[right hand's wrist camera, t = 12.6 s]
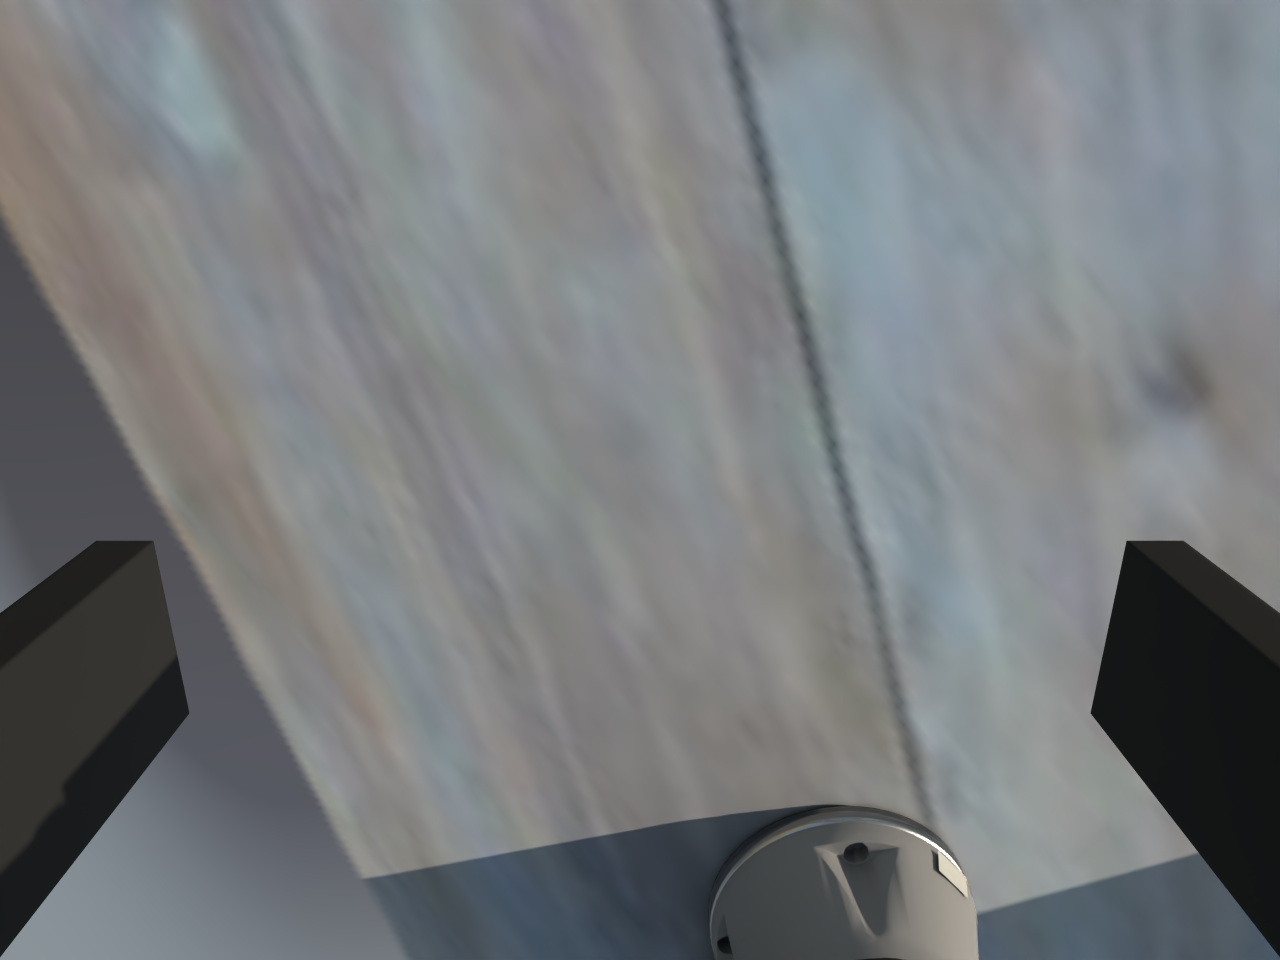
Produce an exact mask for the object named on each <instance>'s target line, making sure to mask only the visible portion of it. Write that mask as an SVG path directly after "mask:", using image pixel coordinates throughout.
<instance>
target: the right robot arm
mask: <svg viewBox="0 0 1280 960" xmlns="http://www.w3.org/2000/svg"><path fill="white" fill-rule="evenodd" d="M188 714H189V709H188V705H187V700H186V695H185V690H184V685H183V681H182V676H181V671H180V666H179V661H178V657H177V652H176V647H175V642H174V638H173V633H172V628H171V623H170V619H169V614H168V609H167V604H166V600H165V595H164V590H163V585H162V580H161V576H160V571H159V566H158V561H157V556H156V551H155V547H154V542H153V541H96V542H94V543H93V544H92V545H90V546H89V547H88V548H86V549H85V550H84V551H82V552H81V553H80V554H78V555H77V556H76V557H74V558H73V559H72V560H70V561H69V562H68V563H66V564H65V565H64V566H62V567H61V568H60V569H58V570H57V571H56V572H54V573H53V574H52V575H51V576H49V577H48V578H46V579H45V580H44V581H43V582H41V583H40V584H38V585H37V586H36V587H34V588H33V589H32V590H31V591H29V592H28V593H26V594H25V595H24V596H22V597H21V598H20V599H19V600H17V601H16V602H15V603H13V604H12V605H11V606H9V607H8V608H7V609H5V610H4V611H3V612H1V613H0V957H1V955H2V954H3V953H4V951H5V950H6V949H7V948H8V946H9V945H10V944H11V942H12V941H13V940H14V939H15V937H16V936H17V935H18V933H19V932H20V931H21V930H22V928H23V927H24V926H25V924H26V923H27V922H28V921H29V919H30V918H31V917H32V915H33V914H34V913H35V912H36V910H37V909H38V908H39V906H40V905H41V904H42V902H43V901H44V900H45V899H46V897H47V896H48V895H49V893H50V892H51V891H52V890H53V888H54V887H55V886H56V884H57V883H58V882H59V881H60V879H61V878H62V877H63V875H64V874H65V873H66V872H67V870H68V869H69V868H70V866H71V865H72V864H73V863H74V861H75V860H76V859H77V857H78V856H79V855H80V853H81V852H82V851H83V850H84V848H85V847H86V846H87V845H88V843H89V842H90V841H91V839H92V838H93V837H94V835H95V834H96V833H97V832H98V830H99V829H100V828H101V826H102V825H103V824H104V823H105V821H106V820H107V819H108V817H109V816H110V815H111V814H112V812H113V811H114V810H115V808H116V807H117V806H118V805H119V803H120V802H121V801H122V799H123V798H124V797H125V796H126V794H127V793H128V792H129V790H130V789H131V788H132V787H133V785H134V784H135V783H136V781H137V780H138V779H139V777H140V776H141V775H142V774H143V772H144V771H145V770H146V768H147V767H148V766H149V765H150V763H151V762H152V761H153V759H154V758H155V757H156V756H157V754H158V753H159V752H160V750H161V749H162V748H163V747H164V745H165V744H166V743H167V741H168V740H169V739H170V738H171V736H172V735H173V734H174V732H175V731H176V730H177V728H178V727H179V726H180V725H181V723H182V722H183V721H184V719H185V718H186V717H187V716H188ZM1091 714H1092V716H1093V717H1094V718H1095V719H1096V721H1097V722H1098V723H1099V725H1100V726H1101V727H1102V729H1103V730H1104V731H1105V732H1106V734H1107V735H1108V736H1109V738H1110V739H1111V740H1112V741H1113V743H1114V744H1115V745H1116V747H1117V748H1118V749H1119V750H1120V752H1121V753H1122V754H1123V756H1124V757H1125V758H1126V759H1127V761H1128V762H1129V763H1130V765H1131V766H1132V767H1133V768H1134V770H1135V771H1136V772H1137V774H1138V775H1139V776H1140V777H1141V779H1142V780H1143V781H1144V783H1145V784H1146V785H1147V787H1148V788H1149V789H1150V790H1151V792H1152V793H1153V794H1154V796H1155V797H1156V798H1157V799H1158V801H1159V802H1160V803H1161V805H1162V806H1163V807H1164V808H1165V810H1166V811H1167V812H1168V814H1169V815H1170V816H1171V817H1172V819H1173V820H1174V821H1175V823H1176V824H1177V825H1178V826H1179V828H1180V829H1181V830H1182V832H1183V833H1184V834H1185V835H1186V837H1187V838H1188V839H1189V841H1190V842H1191V843H1192V845H1193V846H1194V847H1195V848H1196V850H1197V851H1198V852H1199V854H1200V855H1201V856H1202V857H1203V859H1204V860H1205V861H1206V863H1207V864H1208V865H1209V866H1210V868H1211V869H1212V870H1213V872H1214V873H1215V874H1216V875H1217V877H1218V878H1219V879H1220V881H1221V882H1222V883H1223V884H1224V886H1225V887H1226V888H1227V890H1228V891H1229V892H1230V894H1231V895H1232V896H1233V897H1234V899H1235V900H1236V901H1237V903H1238V904H1239V905H1240V906H1241V908H1242V909H1243V910H1244V912H1245V913H1246V914H1247V915H1248V917H1249V918H1250V919H1251V921H1252V922H1253V923H1254V924H1255V926H1256V927H1257V928H1258V930H1259V931H1260V932H1261V933H1262V935H1263V936H1264V937H1265V939H1266V940H1267V941H1268V942H1269V944H1270V945H1271V946H1272V948H1273V949H1274V950H1275V952H1276V953H1277V954H1278V955H1279V957H1280V613H1279V612H1277V611H1276V610H1275V609H1273V608H1272V607H1271V606H1269V605H1268V604H1267V603H1266V602H1264V601H1263V600H1262V599H1260V598H1259V597H1258V596H1256V595H1255V594H1254V593H1252V592H1251V591H1250V590H1248V589H1247V588H1246V587H1244V586H1243V585H1242V584H1240V583H1239V582H1238V581H1236V580H1235V579H1234V578H1232V577H1231V576H1230V575H1228V574H1227V573H1226V572H1224V571H1223V570H1222V569H1220V568H1219V567H1218V566H1216V565H1215V564H1214V563H1212V562H1211V561H1210V560H1208V559H1207V558H1206V557H1204V556H1203V555H1202V554H1200V553H1199V552H1198V551H1196V550H1195V549H1194V548H1192V547H1191V546H1190V545H1188V544H1187V543H1186V542H1184V541H1127V542H1126V547H1125V551H1124V556H1123V561H1122V566H1121V571H1120V575H1119V580H1118V585H1117V590H1116V595H1115V599H1114V604H1113V609H1112V614H1111V618H1110V623H1109V628H1108V633H1107V638H1106V642H1105V647H1104V652H1103V657H1102V661H1101V666H1100V671H1099V676H1098V681H1097V685H1096V690H1095V695H1094V700H1093V705H1092V709H1091ZM708 911H709V928H710V938H711V945H712V949H713V953H714V956H715V960H979V956H978V939H977V935H978V925H977V914H976V910H975V905H974V901H973V897H972V893H971V890H970V887H969V885H968V882H967V880H966V877H965V876H964V873H963V871H962V869H961V866H960V864H959V862H958V860H957V859H956V857H955V855H954V854H953V852H952V851H951V850H950V849H949V847H948V846H947V845H946V844H945V843H944V842H943V841H942V840H941V839H940V838H939V837H938V836H937V835H935V834H934V833H933V832H932V831H930V830H929V829H927V828H926V827H924V826H923V825H921V824H919V823H917V822H915V821H913V820H911V819H909V818H907V817H904V816H902V815H899V814H896V813H892V812H889V811H885V810H880V809H876V808H868V807H858V806H838V807H827V808H820V809H815V810H810V811H806V812H802V813H798V814H795V815H792V816H790V817H787V818H784V819H782V820H780V821H777V822H775V823H773V824H771V825H769V826H768V827H766V828H764V829H762V830H761V831H759V832H758V833H756V834H755V835H753V836H752V837H750V838H749V839H748V840H747V841H746V842H744V843H743V844H742V845H741V846H740V847H739V848H738V849H737V850H736V851H735V852H734V853H733V854H732V855H731V857H730V858H729V859H728V860H727V861H726V863H725V864H724V866H723V867H722V869H721V871H720V872H719V874H718V876H717V878H716V880H715V883H714V886H713V888H712V891H711V896H710V900H709V910H708Z"/></svg>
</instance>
